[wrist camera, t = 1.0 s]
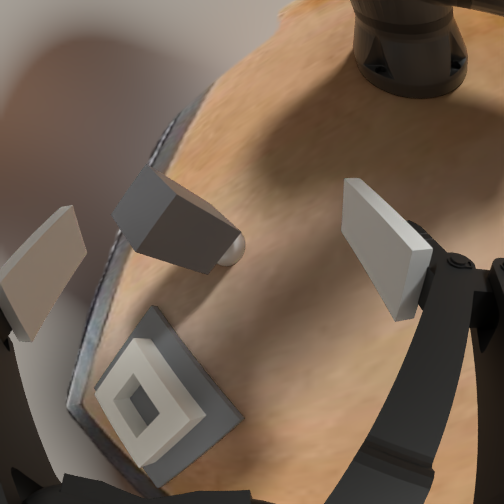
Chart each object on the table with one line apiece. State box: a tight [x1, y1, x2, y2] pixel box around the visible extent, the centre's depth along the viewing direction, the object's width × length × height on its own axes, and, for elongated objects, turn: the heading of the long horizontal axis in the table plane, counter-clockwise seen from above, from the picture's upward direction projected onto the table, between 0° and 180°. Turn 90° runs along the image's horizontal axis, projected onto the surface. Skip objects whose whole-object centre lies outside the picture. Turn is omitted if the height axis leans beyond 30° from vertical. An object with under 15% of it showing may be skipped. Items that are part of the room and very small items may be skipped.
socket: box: [94, 306, 245, 488], centre depth 35 cm, size 18×18×4 cm
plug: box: [111, 164, 245, 275], centre depth 31 cm, size 6×6×14 cm
